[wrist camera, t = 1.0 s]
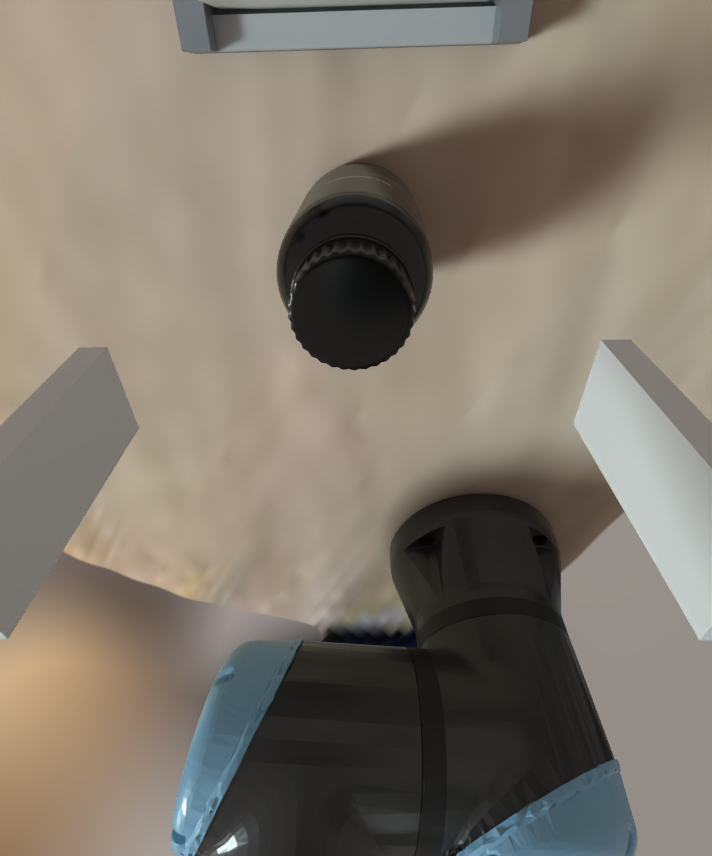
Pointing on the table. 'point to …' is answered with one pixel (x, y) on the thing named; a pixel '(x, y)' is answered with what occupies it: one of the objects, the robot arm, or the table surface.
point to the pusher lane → (351, 26)
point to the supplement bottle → (355, 267)
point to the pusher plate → (314, 3)
